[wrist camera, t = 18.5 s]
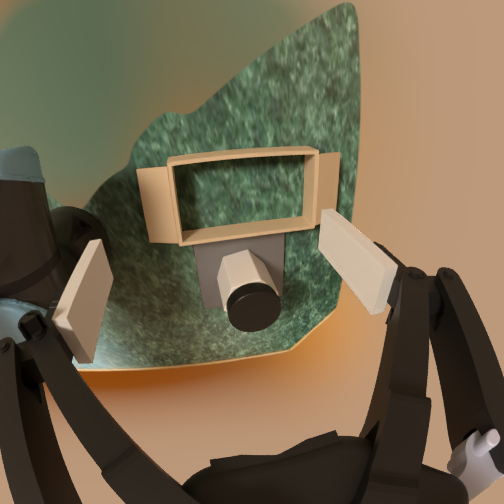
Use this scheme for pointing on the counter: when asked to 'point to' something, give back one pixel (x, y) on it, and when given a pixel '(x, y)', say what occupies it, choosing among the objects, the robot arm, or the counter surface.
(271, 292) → the jar
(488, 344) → the robot arm
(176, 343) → the counter surface
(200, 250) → the mat
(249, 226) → the carton
